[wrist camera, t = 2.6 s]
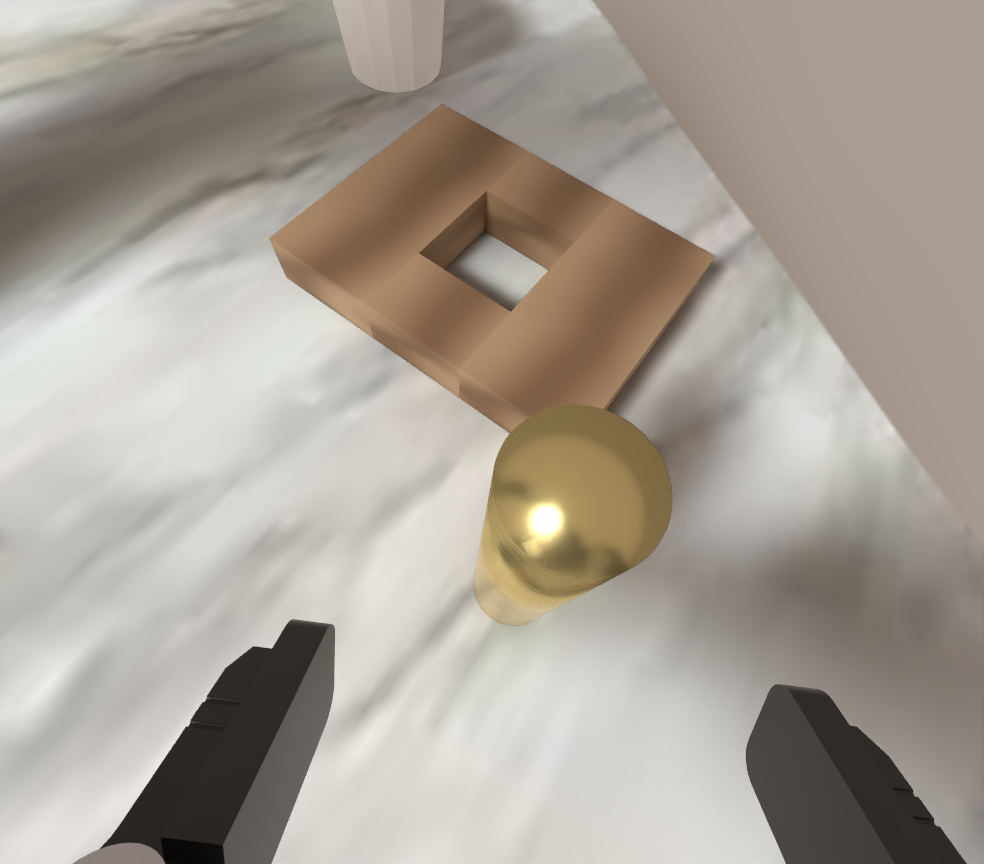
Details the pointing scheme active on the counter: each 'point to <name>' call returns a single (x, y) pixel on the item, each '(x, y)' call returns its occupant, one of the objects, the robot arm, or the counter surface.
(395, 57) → the shot glass
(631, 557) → the peg
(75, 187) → the counter surface
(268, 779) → the robot arm
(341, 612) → the counter surface
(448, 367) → the block
